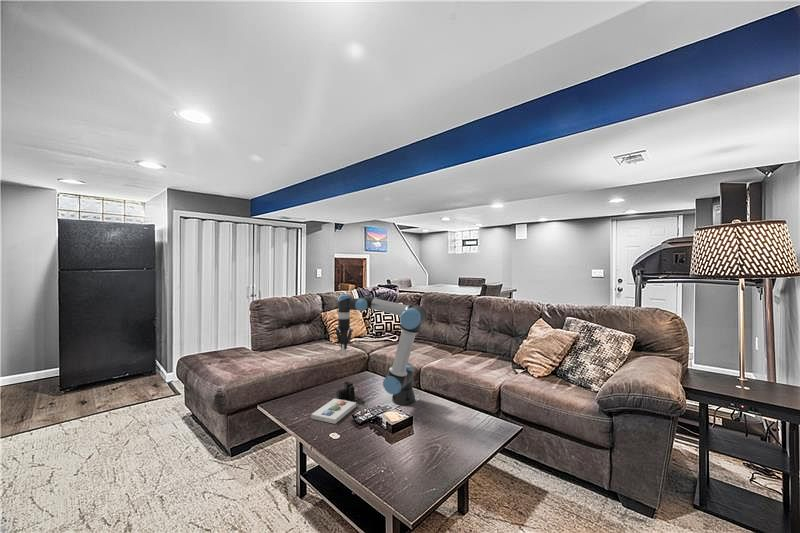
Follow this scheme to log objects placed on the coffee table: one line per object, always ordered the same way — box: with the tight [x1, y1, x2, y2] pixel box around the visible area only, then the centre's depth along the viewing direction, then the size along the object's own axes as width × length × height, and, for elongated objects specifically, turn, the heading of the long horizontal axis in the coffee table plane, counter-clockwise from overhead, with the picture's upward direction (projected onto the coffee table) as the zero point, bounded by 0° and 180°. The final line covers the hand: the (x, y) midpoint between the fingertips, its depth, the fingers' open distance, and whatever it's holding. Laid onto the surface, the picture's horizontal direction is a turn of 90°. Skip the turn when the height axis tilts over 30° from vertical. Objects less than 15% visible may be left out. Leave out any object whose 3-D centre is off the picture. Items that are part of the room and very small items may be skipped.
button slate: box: [324, 410, 332, 416], centre depth 194 cm, size 5×5×3 cm
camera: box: [336, 380, 356, 402], centre depth 221 cm, size 14×11×10 cm
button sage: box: [331, 403, 339, 411], centre depth 200 cm, size 5×5×3 cm
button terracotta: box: [337, 400, 345, 406], centre depth 207 cm, size 5×5×3 cm
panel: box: [310, 398, 357, 424], centre depth 200 cm, size 16×24×2 cm, turn 158°
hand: (343, 353), depth 221 cm, fingers closed
